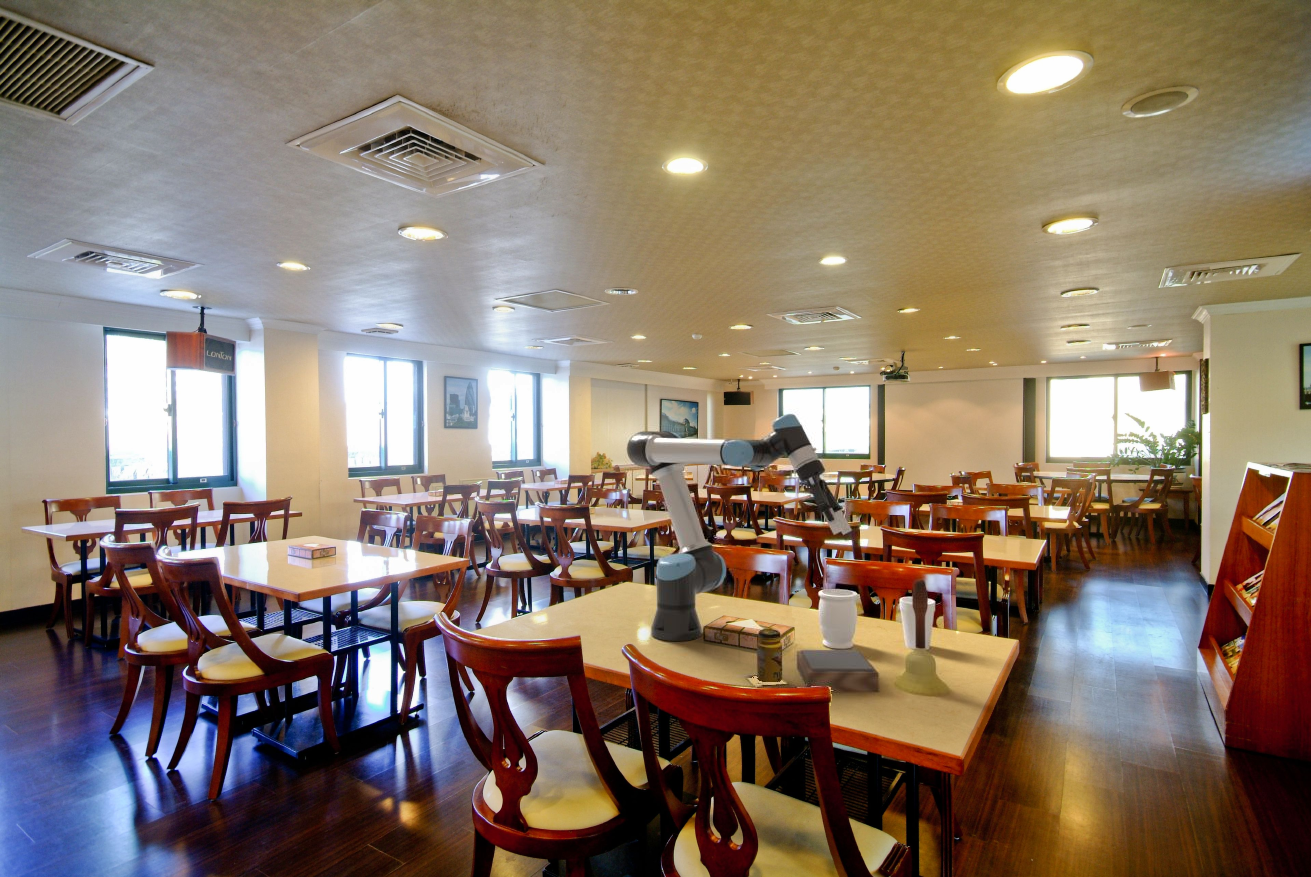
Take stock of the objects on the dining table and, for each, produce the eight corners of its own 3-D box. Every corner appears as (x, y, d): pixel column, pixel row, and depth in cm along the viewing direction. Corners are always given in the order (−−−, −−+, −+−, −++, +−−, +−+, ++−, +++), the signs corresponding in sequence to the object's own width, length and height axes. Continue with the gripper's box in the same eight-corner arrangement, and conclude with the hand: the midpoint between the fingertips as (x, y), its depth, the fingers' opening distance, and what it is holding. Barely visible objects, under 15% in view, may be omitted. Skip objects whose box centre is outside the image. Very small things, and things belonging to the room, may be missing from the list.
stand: (808, 691, 156) (808, 669, 156) (796, 668, 172) (796, 648, 172) (878, 691, 156) (878, 670, 156) (860, 668, 172) (860, 648, 172)
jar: (853, 640, 196) (853, 588, 196) (860, 651, 186) (860, 596, 186) (816, 639, 197) (816, 588, 197) (821, 650, 187) (821, 596, 187)
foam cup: (925, 653, 183) (924, 606, 183) (893, 646, 190) (893, 600, 190) (941, 646, 189) (941, 600, 189) (910, 639, 196) (910, 595, 196)
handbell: (950, 698, 151) (949, 587, 151) (892, 692, 155) (891, 583, 156) (947, 680, 163) (946, 577, 163) (893, 674, 167) (892, 573, 167)
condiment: (788, 684, 161) (788, 634, 161) (755, 687, 159) (754, 636, 159) (776, 674, 168) (775, 626, 168) (744, 677, 166) (743, 628, 166)
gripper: (809, 453, 179) (847, 525, 172) (827, 462, 201) (862, 526, 195) (784, 466, 181) (821, 538, 175) (805, 474, 204) (839, 538, 197)
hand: (843, 532), depth 185 cm, fingers open, 13 cm apart
